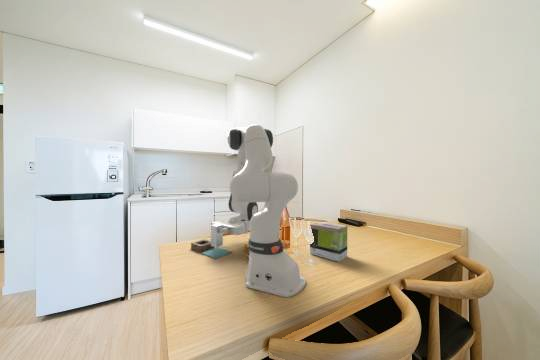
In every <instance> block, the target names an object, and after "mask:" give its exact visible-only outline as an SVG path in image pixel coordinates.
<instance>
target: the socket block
mask: <svg viewBox="0 0 540 360" xmlns="http://www.w3.org/2000/svg"><path fill="white" fill-rule="evenodd" d="M214 248H215V247H214V246H211V240H209V239H205V238H204V239H200V240H197V241H193V242H191V243H190V249H191V250H193V251H196V252H199V253H203V252H205V251H208V250H211V249H214Z"/></svg>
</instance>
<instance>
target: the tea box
mask: <svg viewBox="0 0 540 360" xmlns="http://www.w3.org/2000/svg"><path fill="white" fill-rule="evenodd" d="M310 226H311V229H312V233H313V236H314V242H313V243H312V244H310V243H309V254H310V255H313V256H317V257H321V258H323V259H324V258H325V259H327V260H330V261H335V262H338V263H339V262H341V261H343V260H344V259H346V258H347V257H348V225H344V224H338V223H337V224H336V223H330V222H323V221H317V222H314V223H311V224H309V227H310Z"/></svg>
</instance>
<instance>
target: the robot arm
mask: <svg viewBox="0 0 540 360" xmlns="http://www.w3.org/2000/svg"><path fill="white" fill-rule="evenodd" d="M273 143H274V135H273V132H272V131H271V130H270V129H267V128H264V127H263V126H262V125H260V124H251V125H248V126H247V127H233V128H231V129H230V130H229V132H228V133H227V144H228V145H229V148H230V149H231V150H233V151H237V162H236V163H237V165H236V170H235V171H234V172H233V174H232V178H231V180H230V182H229V191H230V196H229V200H228V209H229V211H230V212H232V213H236V214H238V216H232V217H230V218H229V220H227V221H226V220H215V221H212V222H210V226H211V225H214V224H221V225H223V229H219V230H218V233H223V234H225V233H227V234H230V235H233V236H234V235H235V236H240V235H247V234H248V232H249V237H248V238H249V239H248V250H249V254H248V256H249V257H248V263H247V268H246V272H245V275H244V278H245V280H246V284H245V286H246V287H247V288H250V289H253V290H257V291H259V292H260V291H261V292H264V293H269V294H272V295H275V296H280V297H283V298H289V297H292V296H296V294H298V293H301V291H302V290H303V289H304V288H305V286H306V284H307V279H306V276H303V275H301V273H300V268H299V265H298V262H296V261H295V259H293V258H292V257H291V256H290V255H289V254H288V253H287V252H286V250H285V249H284V247H286V244H287V243H286V242H282V240H281V238H280V231H281V230H280V229H281V219H282V214H283V212H284V210H285V208H286V207H287V205H288V204H289V202H291V201H292V200H293V199H294V198H295V197H296V195H297V193H298V191H299V190H298V189H299V184H298V181H297V178H296V177H295V176H294V175H292V174H289V173H285V172H268V171H267V172H266V170H267V169H268V168H270V166H271V165H272V164H273V160H274V156H273V151H272V147H273ZM258 203H264V205H263V207H262V208H261V209H260V210H259V206H258Z"/></svg>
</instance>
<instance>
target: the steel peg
mask: <svg viewBox="0 0 540 360" xmlns="http://www.w3.org/2000/svg"><path fill="white" fill-rule="evenodd" d="M219 229H223V225H221V224H214V225H211V224H210V241H211V246H214V248H217V247H221V246H223V245H224V244H223V243H224V236H223V235H224V233H218V230H219Z"/></svg>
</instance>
